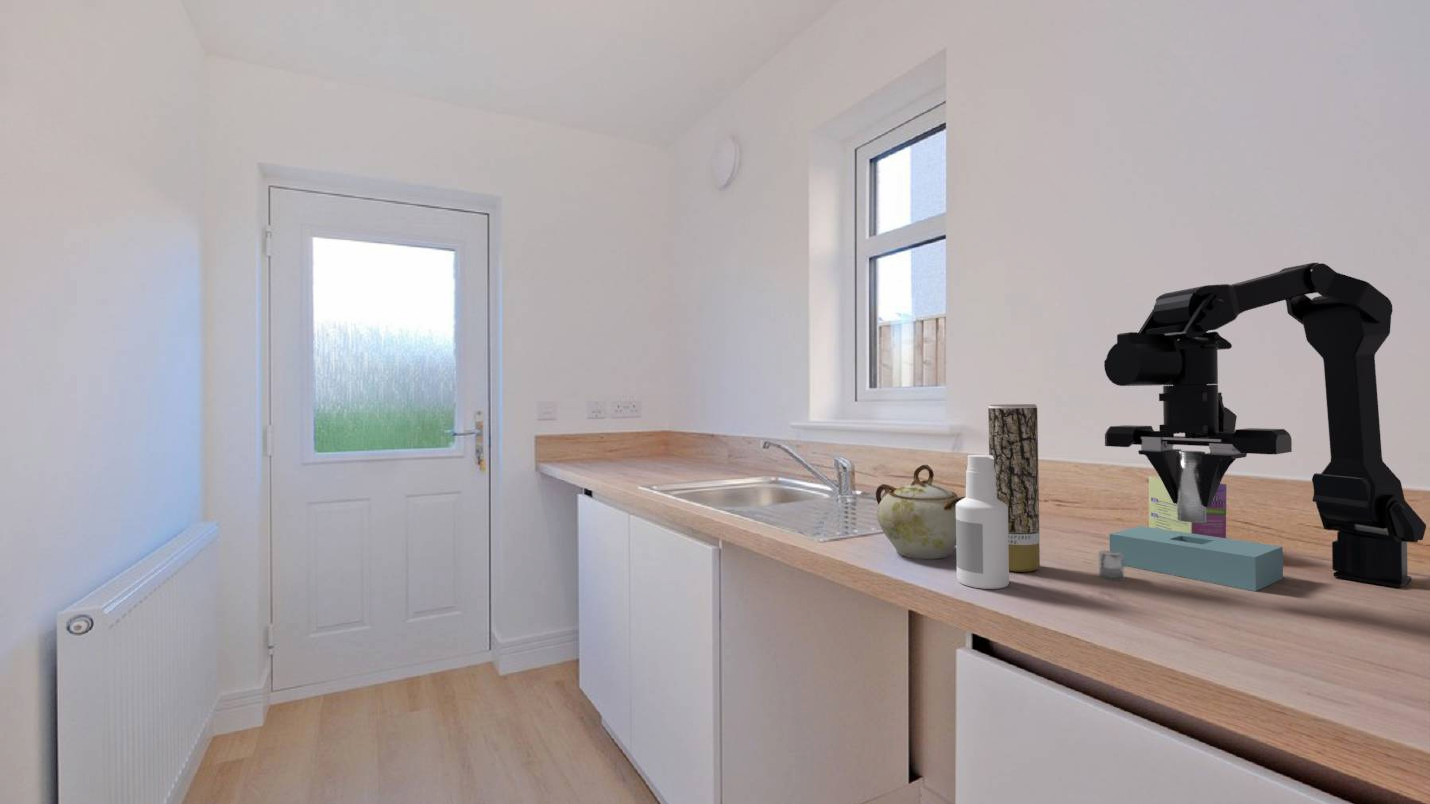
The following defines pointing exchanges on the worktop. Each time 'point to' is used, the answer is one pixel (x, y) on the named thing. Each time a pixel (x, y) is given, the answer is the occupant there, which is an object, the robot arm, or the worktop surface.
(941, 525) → the sugar bowl
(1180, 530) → the box
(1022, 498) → the paper tube
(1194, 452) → the tall steel pin
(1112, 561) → the short steel pin
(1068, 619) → the worktop surface
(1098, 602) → the worktop surface
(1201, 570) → the hole beam
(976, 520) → the spray bottle
